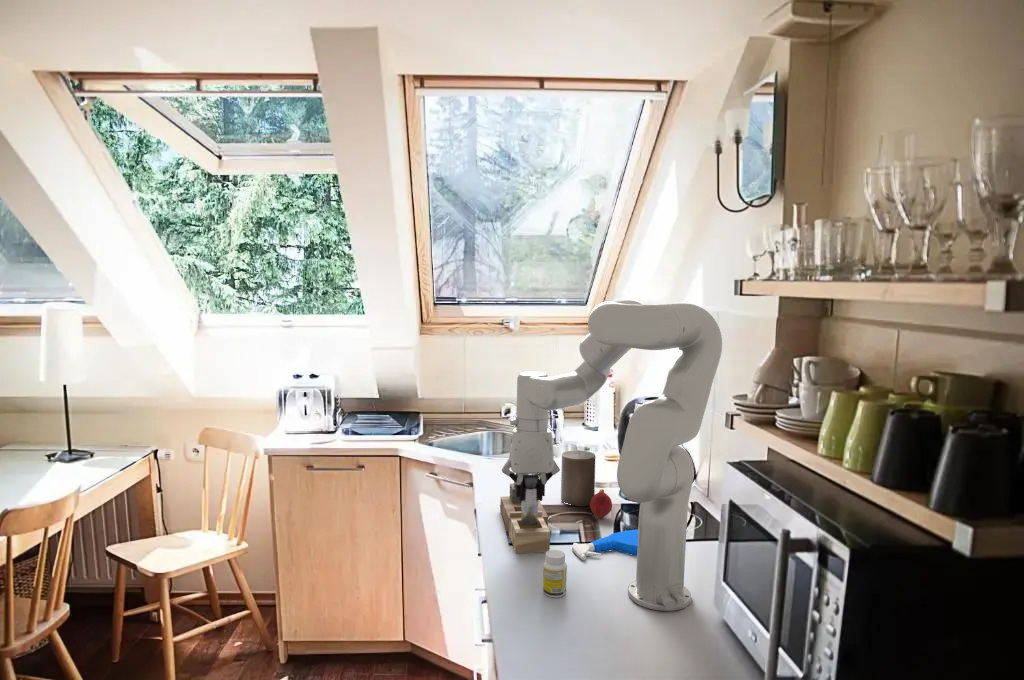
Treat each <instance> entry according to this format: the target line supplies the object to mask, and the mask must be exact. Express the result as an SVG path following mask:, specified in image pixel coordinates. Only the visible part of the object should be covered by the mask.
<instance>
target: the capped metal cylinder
mask: <svg viewBox="0 0 1024 680" xmlns="http://www.w3.org/2000/svg"><path fill="white" fill-rule="evenodd" d="M539 479H540V478H539V473H532V474H523V478H522V484H523V501H522V508H521V524H523V525H525V526H535V525H537V524H538V496H539Z"/></svg>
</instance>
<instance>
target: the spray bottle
mask: <svg viewBox="0 0 1024 680" xmlns="http://www.w3.org/2000/svg"><path fill="white" fill-rule="evenodd" d="M637 549H638V528H637V529H629V530H623V531H618V532H613V533H611V534H609V535H607V536H603V537H602V538H598V539H596V540H593V541H591V542H590V543H588V542H587V543H576V542H573V544H572V546H571V550H572V552H573V553H575V555H576V556H577V557H578V558H579V559H581V560H582V561H585V560H586V559H587V557H588V556H602V553H600V552H603V551H605V552H607V551H608V550H611V551H617V550H618V552H620V551H621V553H623V552H624V554H626V553H627V555H630V554H632V555H631V556H636V555H637ZM595 552H596V553H595ZM598 552H599V553H598Z"/></svg>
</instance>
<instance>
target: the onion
mask: <svg viewBox="0 0 1024 680" xmlns="http://www.w3.org/2000/svg"><path fill="white" fill-rule="evenodd" d="M589 507H590V510H591V512H592V514H594V516H595V517H597V518H599V519H603V518H604V517H606V516H607V515H609V513H611V511H612V510H613V509H612V508H613V502H612V499H611V497H610V496H609V495H608V494H607V493H606V492H605V489H603V488H600V489H599V491H598V492H597V493H595V495H594V496H593V497H592V499H591V503H590V505H589Z"/></svg>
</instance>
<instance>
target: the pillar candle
mask: <svg viewBox="0 0 1024 680" xmlns="http://www.w3.org/2000/svg"><path fill="white" fill-rule="evenodd" d="M595 480H596V454H595V453H594V452H591V451H589V450H588V451H587V450H581V449H580V450H575V449H574V450H568V451H564V452H563V453H561V477H560V483H561V485H560V501H561V500H562V501H563V502H565V503H568V504H571V505H575V506H574V507H587V506H586V505H589V506H590V503H591V499H592V497H593V496H594V495H595V494H596V493H595V492H596V491H595V490H596V489H595V488H596V486H595V484H596V481H595ZM562 501H561V502H562ZM563 502H562V503H563ZM571 505H570V506H571Z"/></svg>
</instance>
